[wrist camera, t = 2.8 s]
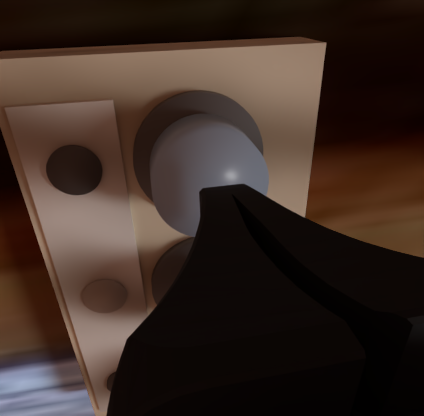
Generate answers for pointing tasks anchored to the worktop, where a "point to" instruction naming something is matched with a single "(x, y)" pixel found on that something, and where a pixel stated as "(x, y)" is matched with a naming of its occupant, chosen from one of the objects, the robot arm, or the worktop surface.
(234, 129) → the button
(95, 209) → the button board
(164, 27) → the worktop surface
